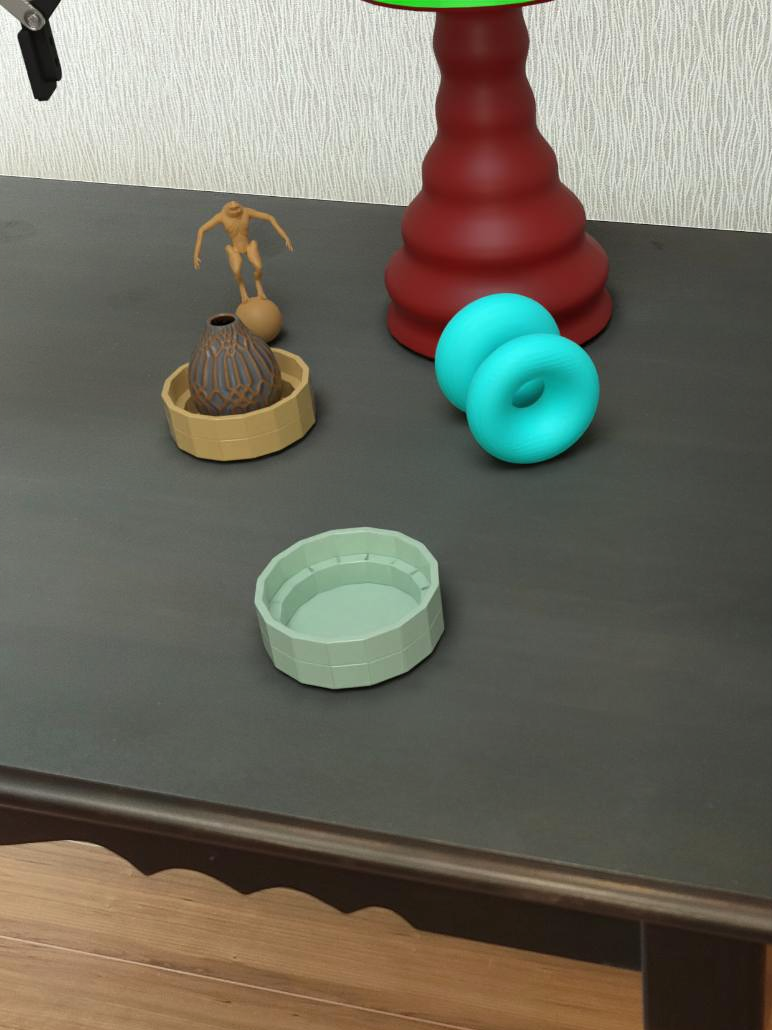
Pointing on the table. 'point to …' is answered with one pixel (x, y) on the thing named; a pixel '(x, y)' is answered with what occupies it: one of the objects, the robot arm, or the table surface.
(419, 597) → the near bowl
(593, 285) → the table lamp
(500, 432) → the donuts
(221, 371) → the vase
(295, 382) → the far bowl
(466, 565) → the table surface
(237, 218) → the figurine
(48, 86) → the robot arm
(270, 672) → the table surface
